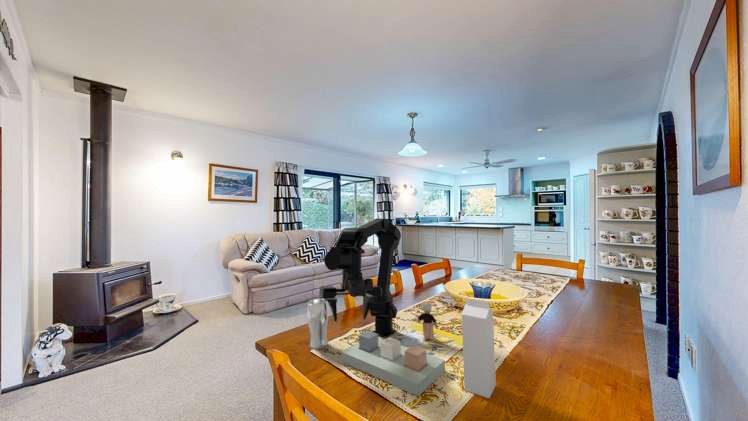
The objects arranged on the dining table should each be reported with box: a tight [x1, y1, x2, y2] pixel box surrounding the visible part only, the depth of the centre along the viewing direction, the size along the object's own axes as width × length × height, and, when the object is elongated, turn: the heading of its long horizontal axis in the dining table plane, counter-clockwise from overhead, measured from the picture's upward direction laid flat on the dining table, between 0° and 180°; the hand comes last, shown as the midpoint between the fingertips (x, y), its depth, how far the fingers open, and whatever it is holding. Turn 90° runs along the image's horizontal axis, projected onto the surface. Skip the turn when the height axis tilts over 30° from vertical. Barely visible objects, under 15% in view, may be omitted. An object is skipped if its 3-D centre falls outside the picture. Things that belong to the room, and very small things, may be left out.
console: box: [340, 337, 446, 397], centre depth 84 cm, size 14×27×3 cm, turn 50°
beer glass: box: [306, 297, 329, 350], centre depth 99 cm, size 7×7×15 cm
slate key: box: [358, 330, 379, 353], centre depth 90 cm, size 4×4×4 cm
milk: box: [461, 298, 497, 399], centre depth 72 cm, size 6×6×22 cm
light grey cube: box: [380, 337, 402, 362], centre depth 84 cm, size 4×4×4 cm
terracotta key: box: [405, 344, 427, 372], centre depth 79 cm, size 4×4×4 cm
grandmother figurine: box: [416, 302, 439, 343], centre depth 100 cm, size 8×4×13 cm, turn 65°
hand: (350, 320), depth 89 cm, fingers open, 9 cm apart
